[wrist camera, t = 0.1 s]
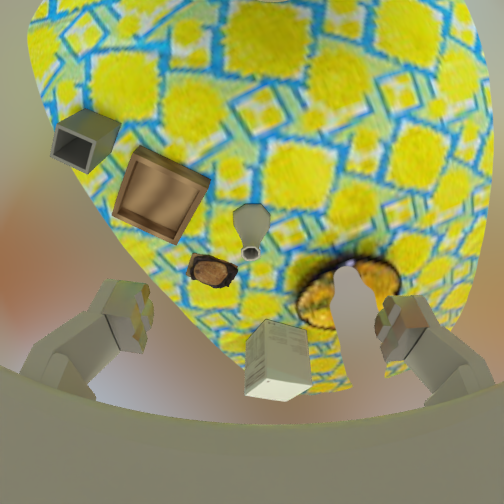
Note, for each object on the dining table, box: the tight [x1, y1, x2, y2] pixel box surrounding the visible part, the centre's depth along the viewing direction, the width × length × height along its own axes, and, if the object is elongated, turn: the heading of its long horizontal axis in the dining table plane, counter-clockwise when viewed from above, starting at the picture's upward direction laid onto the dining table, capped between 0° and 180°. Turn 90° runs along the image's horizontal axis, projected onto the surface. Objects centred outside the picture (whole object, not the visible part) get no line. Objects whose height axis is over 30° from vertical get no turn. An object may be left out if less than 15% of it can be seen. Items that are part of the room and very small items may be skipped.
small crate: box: [50, 108, 121, 174], centre depth 38 cm, size 8×6×9 cm
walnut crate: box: [112, 146, 211, 245], centre depth 49 cm, size 14×14×4 cm
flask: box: [233, 204, 270, 261], centre depth 50 cm, size 7×7×10 cm
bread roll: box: [186, 253, 238, 288], centre depth 62 cm, size 11×8×4 cm
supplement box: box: [244, 319, 312, 402], centre depth 73 cm, size 13×13×18 cm
